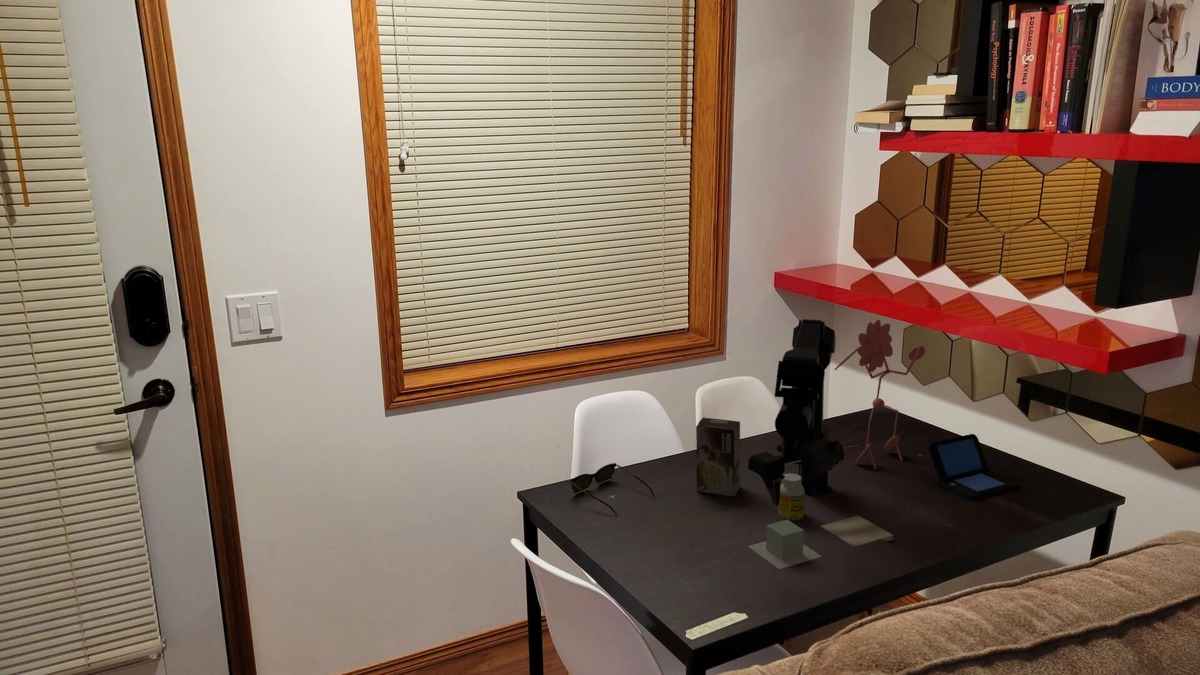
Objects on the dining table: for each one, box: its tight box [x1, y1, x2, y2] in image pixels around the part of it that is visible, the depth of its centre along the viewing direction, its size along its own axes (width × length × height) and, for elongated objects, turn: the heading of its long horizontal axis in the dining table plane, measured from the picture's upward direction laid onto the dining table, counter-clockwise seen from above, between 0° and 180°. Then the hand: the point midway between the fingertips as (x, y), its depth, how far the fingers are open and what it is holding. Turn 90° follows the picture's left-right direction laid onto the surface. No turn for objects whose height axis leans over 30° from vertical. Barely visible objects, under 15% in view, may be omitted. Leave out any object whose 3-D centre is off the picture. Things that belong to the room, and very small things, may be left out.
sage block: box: [765, 519, 805, 560], centre depth 163 cm, size 5×5×5 cm
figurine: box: [833, 319, 926, 470], centre depth 207 cm, size 15×26×35 cm, turn 120°
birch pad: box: [820, 514, 894, 548], centre depth 172 cm, size 10×10×1 cm
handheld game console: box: [927, 433, 1018, 501], centre depth 193 cm, size 16×13×9 cm
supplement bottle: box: [777, 473, 806, 521], centre depth 178 cm, size 5×5×10 cm
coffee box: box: [695, 417, 741, 497], centre depth 193 cm, size 9×6×16 cm
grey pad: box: [747, 540, 823, 570], centre depth 164 cm, size 10×10×1 cm
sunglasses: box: [569, 462, 655, 514], centre depth 191 cm, size 14×15×5 cm
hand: (795, 499), depth 160 cm, fingers open, 9 cm apart
